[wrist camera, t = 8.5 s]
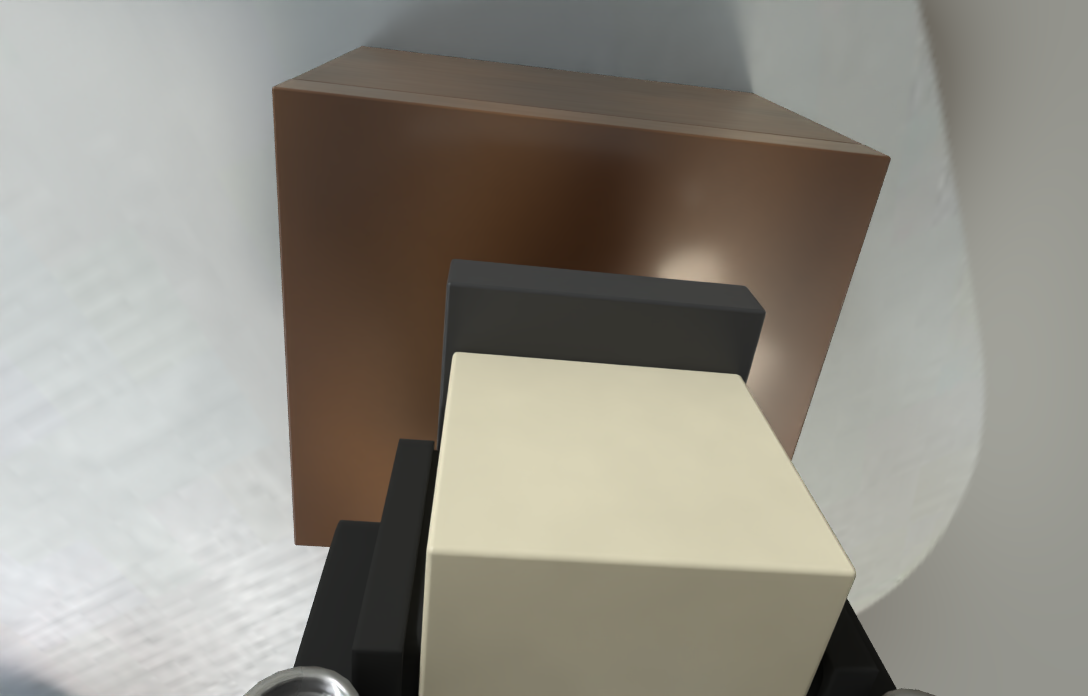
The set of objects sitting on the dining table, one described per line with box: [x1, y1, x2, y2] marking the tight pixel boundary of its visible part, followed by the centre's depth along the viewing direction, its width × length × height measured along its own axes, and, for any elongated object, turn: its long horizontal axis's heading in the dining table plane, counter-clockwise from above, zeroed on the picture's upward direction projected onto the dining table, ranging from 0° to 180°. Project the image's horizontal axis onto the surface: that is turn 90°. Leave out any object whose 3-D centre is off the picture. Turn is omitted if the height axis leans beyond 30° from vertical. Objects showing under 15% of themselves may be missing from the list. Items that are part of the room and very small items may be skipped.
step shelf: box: [272, 46, 891, 547], centre depth 23 cm, size 12×22×9 cm, turn 173°
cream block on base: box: [418, 259, 856, 696], centre depth 10 cm, size 4×8×5 cm, turn 173°
